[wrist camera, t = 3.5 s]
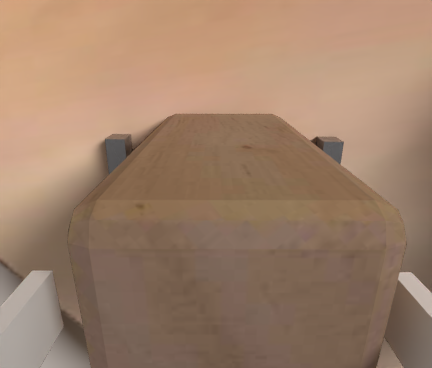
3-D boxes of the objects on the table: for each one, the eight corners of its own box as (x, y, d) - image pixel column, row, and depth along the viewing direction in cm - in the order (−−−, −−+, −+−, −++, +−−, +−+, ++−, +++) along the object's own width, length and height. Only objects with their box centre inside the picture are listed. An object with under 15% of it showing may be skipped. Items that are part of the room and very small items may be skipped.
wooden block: (281, 112, 27) (433, 216, 8) (274, 217, 30) (367, 460, 11) (165, 112, 27) (44, 214, 8) (171, 217, 30) (96, 458, 12)
